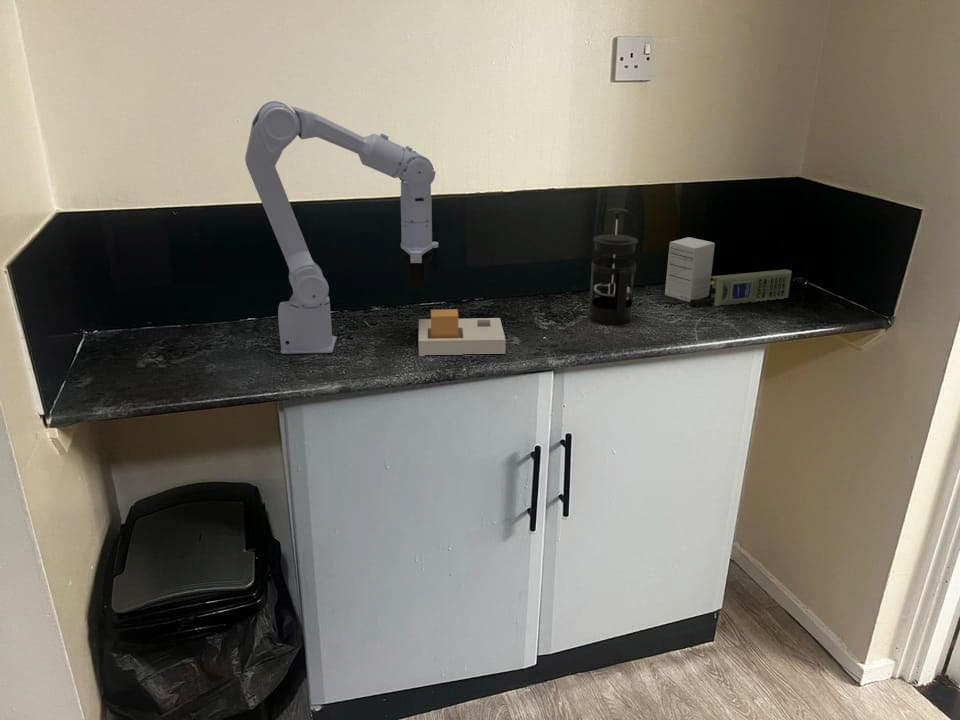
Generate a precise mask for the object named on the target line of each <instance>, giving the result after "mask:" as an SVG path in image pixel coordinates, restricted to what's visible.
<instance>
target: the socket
mask: <svg viewBox="0 0 960 720" xmlns="http://www.w3.org/2000/svg"><path fill="white" fill-rule="evenodd" d="M501 320H502V319H501V318H500V317H487V318H484V317H483V318H482V317H480V318H479V317H477V318H476V317H474V318H458V338H435V339H431V318H427V319H425V318H424V319H423V318H420V319H418V357H426V356H425V355H463V354H505V355H506V345H507V344H506V341H507V339H506V336H505V331H504V329H503V325H502V321H501ZM463 356H464V355H463Z"/></svg>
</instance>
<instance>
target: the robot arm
mask: <svg viewBox="0 0 960 720" xmlns="http://www.w3.org/2000/svg"><path fill="white" fill-rule="evenodd" d="M291 108H292V109H291ZM297 136H298V137H299V139H300V140H307V139H313V138H318V139H321V140H324V141H326V142H328V143H331V144H333V145H335V146H337V147H341V148H342V149H346V150H348V151H350V152H352V153H354V154H357V155H358V157H359V160H360V162H361V164H362V165H363V166H365V167H368V168H370V169H372V170H375V171H377V172H380V173H382V174H384V175H386V176H389V177H390V178H393V179H399V180H400V226H401V229H400V230H401V231H400V232H401V242H400V248H401V249H402V250H403V251H404V252H403V253H402V254H401V259H402V262H403V264H404V265H405V268H406V271H407V274H408V277H409V283H410V287H411V290H412V292H423V291H424V289H425V285H426V277H427V273H428V272H427V271H428V269H429V265H430V264H431V261H432V260H433V251H432V249H433V248H434V249H435V248H436V249H437V248H439V241H433V222H432V221H433V216H432V215H433V213H432V210H433V208H432V207H433V206H432V205H433V204H432V201H433V200H432V190H431V189H432V188H431V187H432V183H433V182H434V181H435V177H436V171H435V168H434V165H433V164H432V162H431V160H430V159H428V158H427V157H426V156H424V155H422V154H420V153H418V152H417V151H415V150H413V148H412V147H410V146H408V145H406V146H402V145H400V144H398V143H396V142H394V141H391V140H389V138H390V137H389V135H386V134H385V133H383V132H381V133H380V135H378V134H377V133H372V134H369V135H367V136H362V135H360V134H358V133H356V132H354V131H351V130H350V129H348V128H346V127H344V126H343V125H339V124H338V123H336V122H334V121H332V120H329V119H327V118H325V117H323V116H321V115H320V114H317V113H314V112H312V111H308V110H306V109H303V108H299V107H296V106H290V107H289V106H288V105H287V104H285V103H283V102H281V101H276V100H273V101H272V100H271V101H268V102H266V103H264V104H263V105H262V106H261V107H260V108H259V110H258V111H257V113H256V114H255V116H254V118H253V120H252V122H251V127H250V133H249V138H248V141H247V142H248V143H247V147H246V152H245V157H244V160H245V164H246V165H245V166H246V167H247V170H248V173H249V175H250V178H251V180H252V182H253V185H254V187H255V190H256V191H257V194H258V197H259V199H260V201H261V203H262V206H263V209H264V211H265V213H266V216H267V218H268V220H269V223H270V226H271V227H272V231H273V233H274V235H275V238H276V240H277V243H278V245H279V247H280V249H281V252H282V254H283V257H284V260H285V262H286V265H287V267H288V271H289V272H288V281H289V284H290V285H291V287H292V295H291V297H290V298H289V300H287V301H281V302H280V303H279V305H278V311H277V312H278V313H277V315H278V316H277V318H278V319H277V320H278V322H277V323H278V330H279V331H278V332H279V339H280V340H279V341H280V354H283V355H284V354H287V355H288V354H290V355H291V354H330V353H333V352H334V348H335V345H336V342H337V335H333V333H332V331H333V330H332V318H331V317H332V316H331V303H330V302H331V301H330V296H329V293H330V292H329V291H330V287H329V283H328V281H327V279H326V278H325V277H324V275H323V270H322V269H321V267H320V266H319V265H318V264H317V263H316V262H315V261H314V260H313V258H312V256H311V254H310V251H309V248H308V246H307V243H306V240H305V238H304V235H303V233H302V231H301V228H300V226H299V223H298V220H297V218H296V216H295V213H294V211H293V210H294V209H293V208H292V205H291V203H290V200H289V198H288V194H287V193H286V190H285V188H284V186H283V182H282V180H281V178H280V175H279V173H278V170H277V167H276V165H277V163H278V162H279V159H280V157H281V155H282V153H283V151H284V150H285V149H286V148H287V147H288V146H289V145H291V144H292V142H293V141H294V140H295V139H296V138H297Z"/></svg>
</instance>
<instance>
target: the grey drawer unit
mask: <svg viewBox="0 0 960 720" xmlns="http://www.w3.org/2000/svg"><path fill="white" fill-rule="evenodd" d="M715 245H716V244H715V242H712V241H708V240H705V239H698V238H694V237H690V236H688V237H684V238H681V239H675V240H673V241H669V247H668V255H667V256H668V257H667V258H668V259H667V269H666V278H665V279H666V280H665V289H664V295H665V296H667V297H669V298H674V299H677V300H681V301H684V302H688V303H690V300H693V299H705V298H707V297H709V296H710V293H709V290H710V289H711V288H710V287H711V284H710V282H711V281H712V280H711V279H712V278H711V277H712V273H713V271H712V270H713V264H714V263H713V262H714V254H715V253H714V252H715V247H716V246H715Z"/></svg>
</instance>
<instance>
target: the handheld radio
mask: <svg viewBox="0 0 960 720" xmlns="http://www.w3.org/2000/svg"><path fill="white" fill-rule="evenodd" d="M711 279H713V280H711V281H710V286H712V288H710V290H709V295H711V297H709V298H707V297H705V298H701V299H693V300H690V302H689V304H690V306H698V305H699V306H700V305H708V304H710V305H712V306H714V307H722V306H721V305H723V306H730V305H731V304H732V305H740V303H742V304H748V302H751V303H758V301H760V302H768V301H767V300H770V301H777V300H776V299H779V300H785V299H784V298H788V299H789V294H790V287H791V286H790V285H791V280H792V270H790V269H778V270H777V269H776V270H767V271H766V270H765V271H756V272H745V273H735V274H724V275H722V274H721V275H713V276H711Z"/></svg>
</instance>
